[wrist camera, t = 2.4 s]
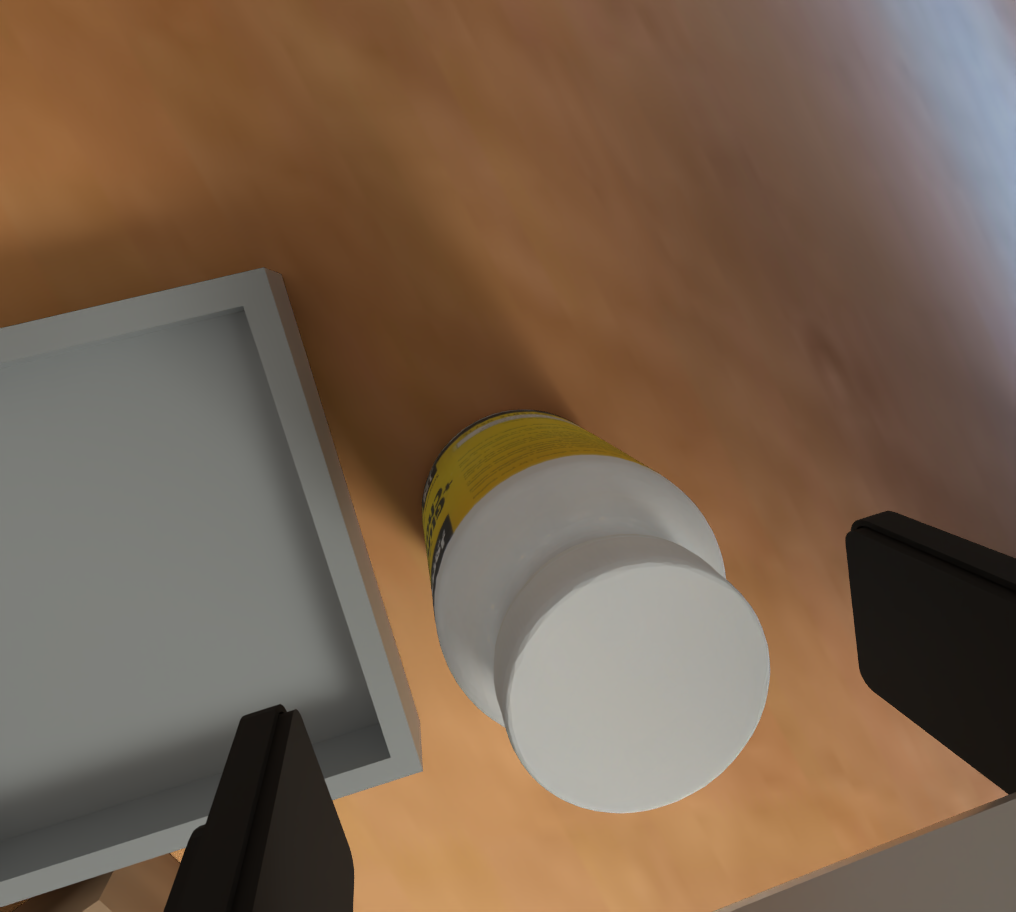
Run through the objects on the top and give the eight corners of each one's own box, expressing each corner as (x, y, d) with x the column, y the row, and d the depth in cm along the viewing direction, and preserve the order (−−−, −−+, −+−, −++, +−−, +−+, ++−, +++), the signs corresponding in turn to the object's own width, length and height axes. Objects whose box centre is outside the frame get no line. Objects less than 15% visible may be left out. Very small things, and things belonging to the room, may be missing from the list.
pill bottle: (425, 401, 21) (457, 494, 10) (619, 411, 22) (850, 505, 11) (416, 593, 22) (435, 874, 11) (599, 593, 23) (790, 848, 12)
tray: (281, 274, 19) (264, 267, 17) (420, 721, 23) (422, 770, 21) (-294, 408, 18) (-409, 422, 15) (-46, 868, 21) (-105, 941, 19)
